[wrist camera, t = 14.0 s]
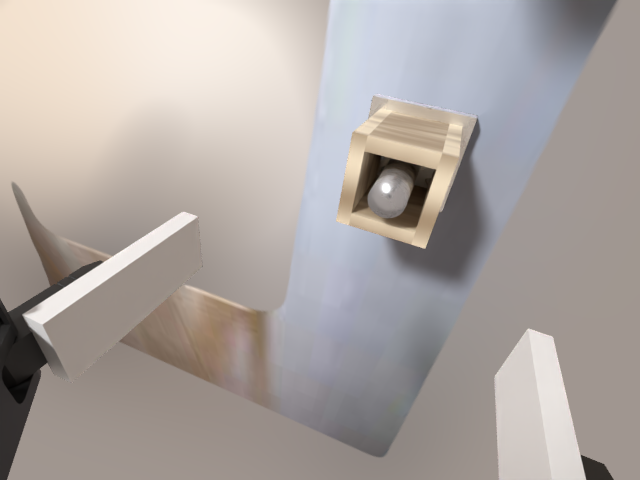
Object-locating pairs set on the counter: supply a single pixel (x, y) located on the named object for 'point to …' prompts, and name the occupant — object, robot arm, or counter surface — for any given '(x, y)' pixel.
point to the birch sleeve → (409, 146)
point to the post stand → (402, 176)
